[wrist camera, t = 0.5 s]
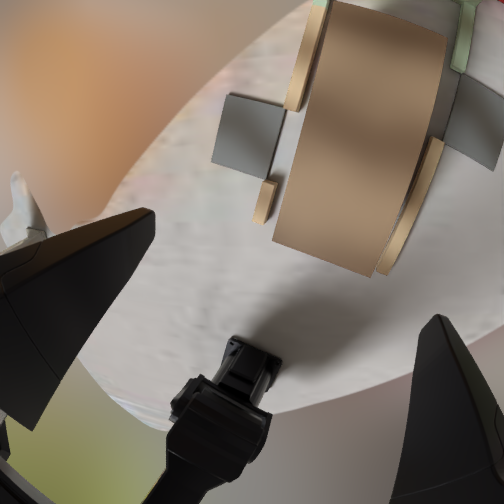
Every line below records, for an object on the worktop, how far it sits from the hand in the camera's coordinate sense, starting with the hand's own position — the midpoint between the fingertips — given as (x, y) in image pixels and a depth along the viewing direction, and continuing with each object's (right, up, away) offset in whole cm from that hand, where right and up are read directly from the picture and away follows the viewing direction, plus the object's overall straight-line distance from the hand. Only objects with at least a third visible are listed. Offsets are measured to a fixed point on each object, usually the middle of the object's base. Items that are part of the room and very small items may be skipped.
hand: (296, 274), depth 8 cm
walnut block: (+7, +9, +12) cm, 16 cm away
